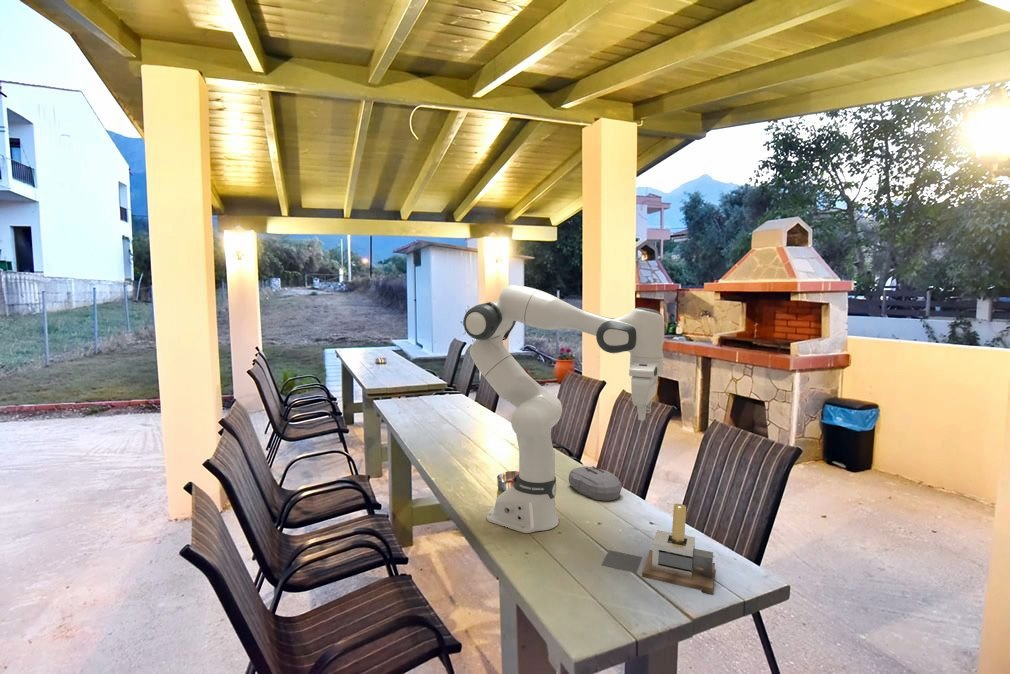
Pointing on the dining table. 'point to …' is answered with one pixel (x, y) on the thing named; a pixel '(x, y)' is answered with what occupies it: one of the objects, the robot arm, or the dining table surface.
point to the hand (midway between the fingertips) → (644, 416)
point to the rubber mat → (622, 561)
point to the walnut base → (681, 577)
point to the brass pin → (678, 524)
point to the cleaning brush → (595, 483)
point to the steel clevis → (679, 556)
